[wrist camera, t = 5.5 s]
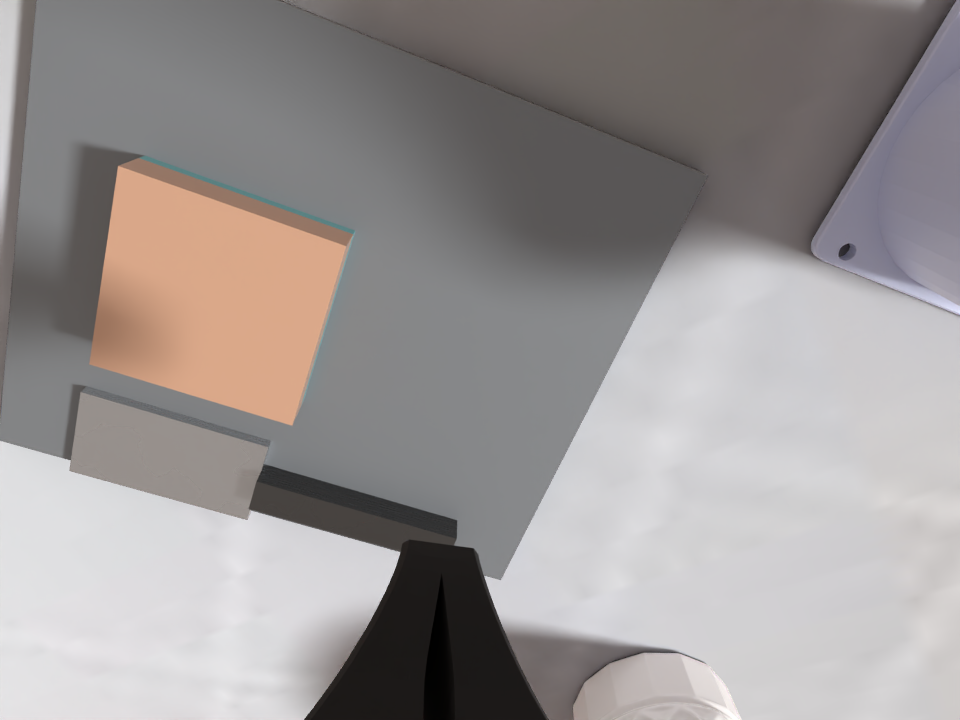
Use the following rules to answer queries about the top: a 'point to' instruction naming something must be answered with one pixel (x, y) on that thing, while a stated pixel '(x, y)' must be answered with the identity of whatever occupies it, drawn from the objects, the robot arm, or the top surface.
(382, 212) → the board
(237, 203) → the tile
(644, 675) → the white cup
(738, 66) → the top surface
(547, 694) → the top surface
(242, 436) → the bar
